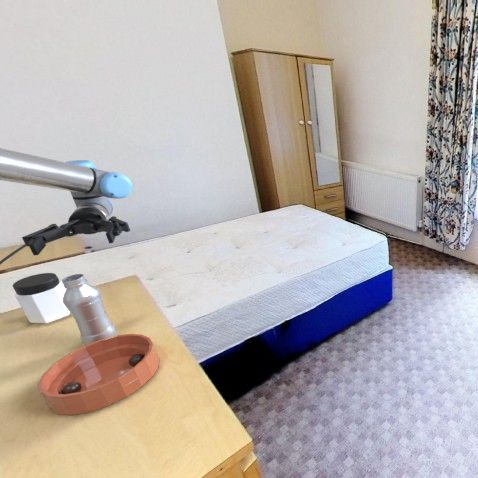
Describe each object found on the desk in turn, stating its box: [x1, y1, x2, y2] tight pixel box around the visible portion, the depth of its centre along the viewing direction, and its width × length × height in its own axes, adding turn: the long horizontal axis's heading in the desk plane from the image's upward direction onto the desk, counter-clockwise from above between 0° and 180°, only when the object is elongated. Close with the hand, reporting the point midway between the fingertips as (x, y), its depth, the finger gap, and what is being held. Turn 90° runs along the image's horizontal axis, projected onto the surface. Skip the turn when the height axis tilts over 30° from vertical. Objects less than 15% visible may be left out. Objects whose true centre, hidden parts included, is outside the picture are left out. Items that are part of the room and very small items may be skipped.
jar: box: [12, 272, 71, 324], centre depth 91 cm, size 9×8×12 cm
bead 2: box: [129, 354, 145, 367], centre depth 76 cm, size 3×3×3 cm
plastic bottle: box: [61, 273, 118, 346], centre depth 80 cm, size 6×7×20 cm
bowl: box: [37, 333, 160, 416], centre depth 72 cm, size 18×18×6 cm
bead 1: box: [61, 382, 82, 394], centre depth 68 cm, size 3×3×3 cm
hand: (73, 244), depth 81 cm, fingers open, 13 cm apart
